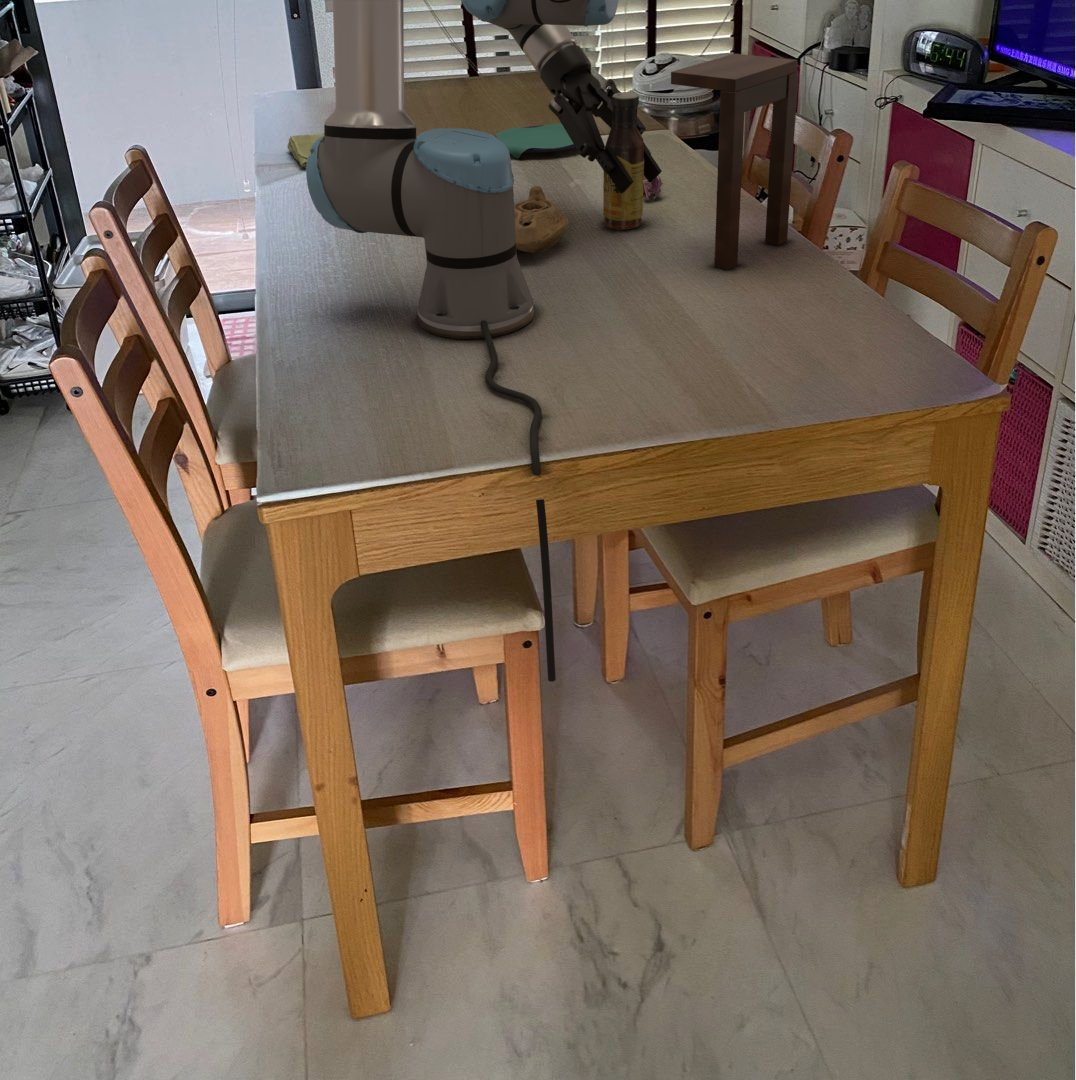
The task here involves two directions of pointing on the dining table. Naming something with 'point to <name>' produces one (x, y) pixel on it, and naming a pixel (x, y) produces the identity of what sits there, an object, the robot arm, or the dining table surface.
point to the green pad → (536, 139)
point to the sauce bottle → (625, 165)
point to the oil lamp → (538, 222)
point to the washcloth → (302, 146)
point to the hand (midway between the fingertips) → (641, 182)
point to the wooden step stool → (742, 90)
